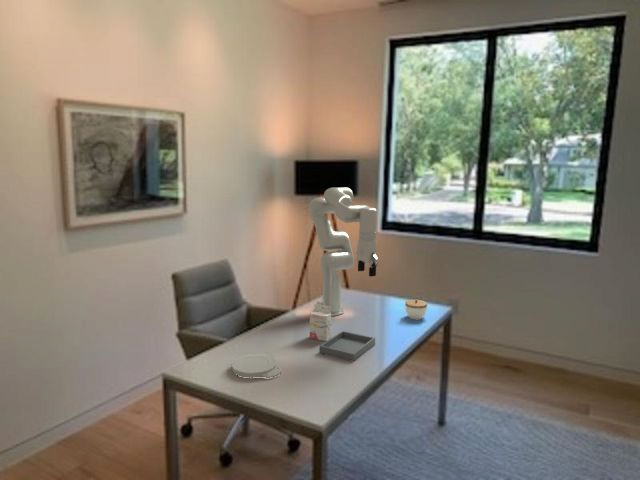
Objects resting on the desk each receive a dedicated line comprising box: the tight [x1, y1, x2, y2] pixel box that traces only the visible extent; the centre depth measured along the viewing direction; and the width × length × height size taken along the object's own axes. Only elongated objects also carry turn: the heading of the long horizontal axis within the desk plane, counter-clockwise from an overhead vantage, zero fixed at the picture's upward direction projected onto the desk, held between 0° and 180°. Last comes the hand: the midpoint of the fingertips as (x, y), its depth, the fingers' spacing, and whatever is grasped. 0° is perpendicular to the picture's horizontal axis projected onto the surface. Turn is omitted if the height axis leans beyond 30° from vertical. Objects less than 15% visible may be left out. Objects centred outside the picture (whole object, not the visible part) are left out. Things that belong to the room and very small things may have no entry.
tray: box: [318, 330, 376, 362], centre depth 204 cm, size 16×20×3 cm
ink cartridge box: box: [309, 303, 332, 342], centre depth 214 cm, size 9×5×15 cm, turn 65°
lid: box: [230, 353, 282, 378], centre depth 184 cm, size 17×20×3 cm
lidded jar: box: [404, 299, 428, 321], centre depth 242 cm, size 11×11×9 cm
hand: (366, 273), depth 216 cm, fingers open, 9 cm apart
